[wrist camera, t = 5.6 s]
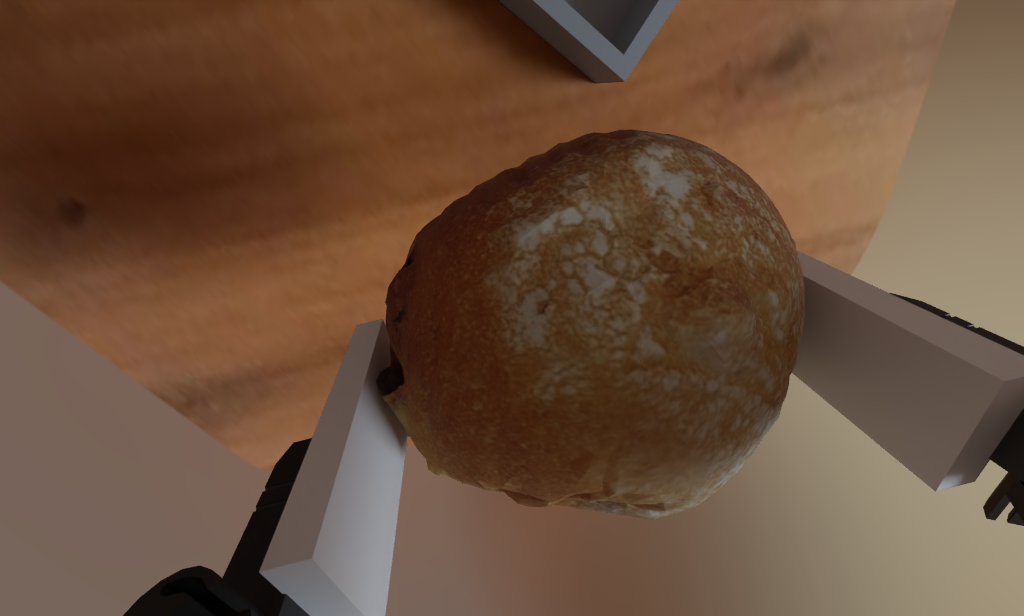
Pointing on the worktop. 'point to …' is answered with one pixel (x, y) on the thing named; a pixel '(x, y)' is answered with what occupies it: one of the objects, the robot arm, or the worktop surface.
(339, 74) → the worktop surface
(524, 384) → the bread roll
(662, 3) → the bread tray
